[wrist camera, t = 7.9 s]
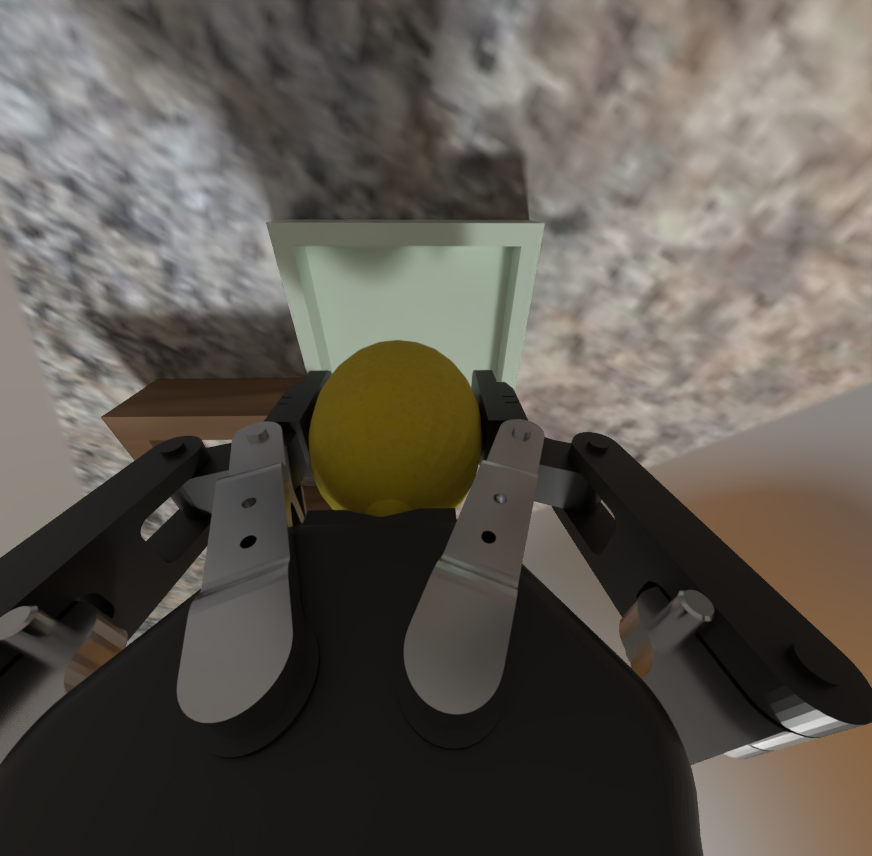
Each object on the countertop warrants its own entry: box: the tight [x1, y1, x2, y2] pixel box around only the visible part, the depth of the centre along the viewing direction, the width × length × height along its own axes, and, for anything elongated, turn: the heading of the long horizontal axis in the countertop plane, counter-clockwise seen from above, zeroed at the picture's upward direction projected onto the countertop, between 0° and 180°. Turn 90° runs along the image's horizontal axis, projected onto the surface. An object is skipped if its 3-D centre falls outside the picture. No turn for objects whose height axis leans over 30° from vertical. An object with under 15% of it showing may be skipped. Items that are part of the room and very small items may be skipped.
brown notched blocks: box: [101, 378, 333, 511], centre depth 20 cm, size 11×11×4 cm
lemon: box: [309, 340, 482, 517], centre depth 11 cm, size 6×6×8 cm
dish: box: [266, 219, 545, 391], centre depth 16 cm, size 11×11×2 cm
